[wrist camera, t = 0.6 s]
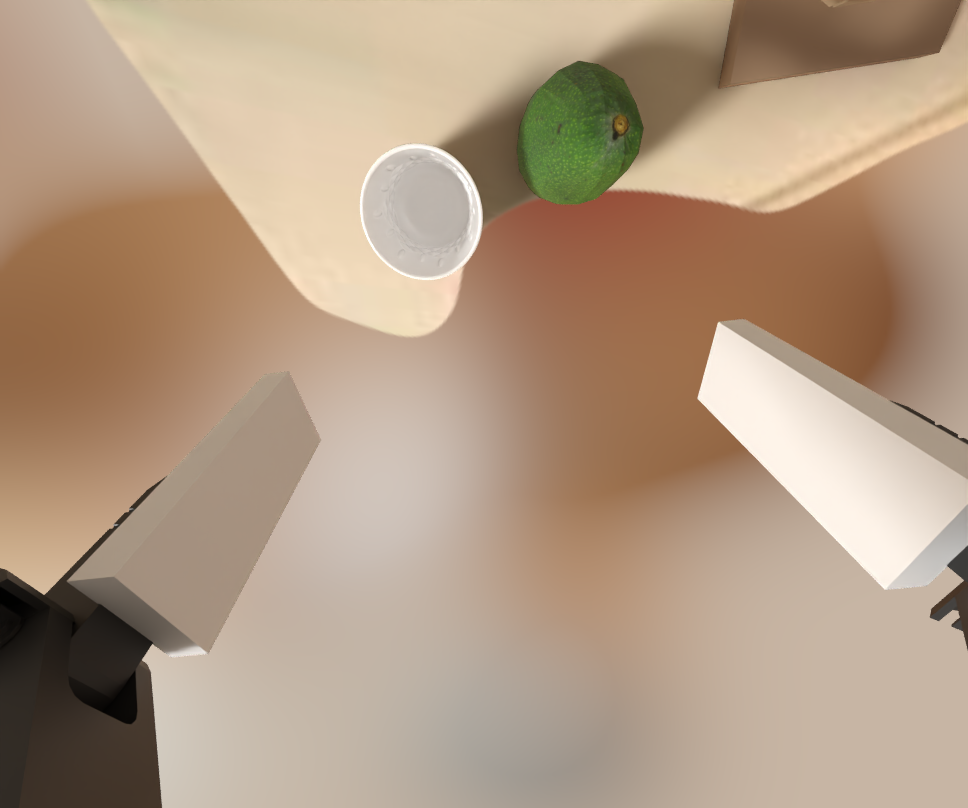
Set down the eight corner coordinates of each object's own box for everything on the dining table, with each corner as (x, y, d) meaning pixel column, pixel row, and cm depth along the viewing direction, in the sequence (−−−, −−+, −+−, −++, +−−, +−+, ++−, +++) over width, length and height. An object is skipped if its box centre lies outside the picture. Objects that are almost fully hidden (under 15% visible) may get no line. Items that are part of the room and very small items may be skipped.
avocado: (603, 192, 32) (666, 205, 22) (514, 205, 32) (536, 223, 22) (609, 71, 27) (692, 16, 17) (506, 87, 28) (529, 43, 18)
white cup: (457, 266, 35) (454, 298, 26) (377, 228, 33) (346, 249, 24) (493, 179, 31) (503, 184, 22) (405, 129, 29) (380, 114, 20)
